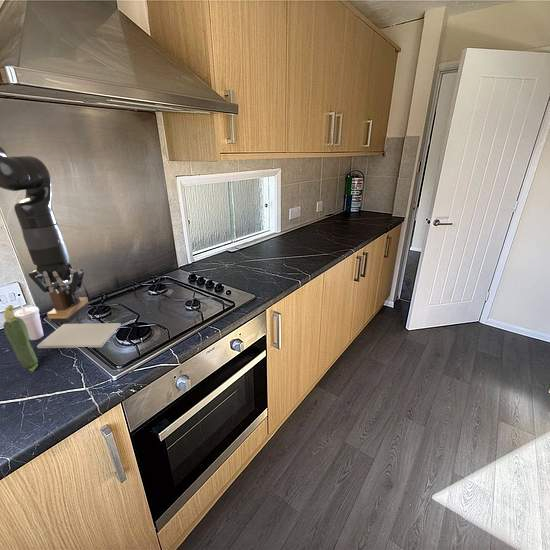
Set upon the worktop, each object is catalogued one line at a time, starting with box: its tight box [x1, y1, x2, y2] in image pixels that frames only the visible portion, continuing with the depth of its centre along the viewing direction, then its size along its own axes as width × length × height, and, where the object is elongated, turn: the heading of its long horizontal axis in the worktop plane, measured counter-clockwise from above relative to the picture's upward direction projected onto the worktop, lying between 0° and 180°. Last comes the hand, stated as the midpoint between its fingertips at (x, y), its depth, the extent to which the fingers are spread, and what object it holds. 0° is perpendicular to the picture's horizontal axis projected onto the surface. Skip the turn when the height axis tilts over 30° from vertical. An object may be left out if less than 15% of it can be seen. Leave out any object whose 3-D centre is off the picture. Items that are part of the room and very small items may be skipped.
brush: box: [46, 286, 90, 324], centre depth 79 cm, size 9×5×8 cm, turn 178°
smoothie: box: [13, 298, 45, 341], centre depth 92 cm, size 6×6×14 cm
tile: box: [36, 322, 122, 349], centre depth 94 cm, size 20×12×1 cm, turn 89°
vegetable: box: [3, 304, 39, 372], centre depth 77 cm, size 4×4×20 cm
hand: (67, 304), depth 79 cm, fingers closed on brush, 2 cm apart
